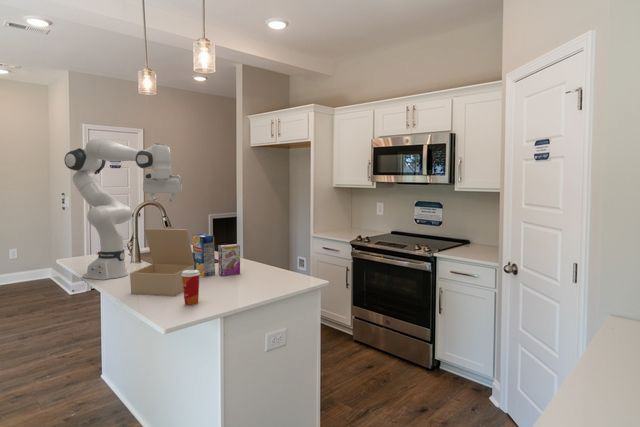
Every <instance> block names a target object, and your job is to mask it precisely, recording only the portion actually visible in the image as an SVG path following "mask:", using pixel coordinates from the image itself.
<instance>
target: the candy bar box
mask: <svg viewBox="0 0 640 427" xmlns="http://www.w3.org/2000/svg"><path fill="white" fill-rule="evenodd" d="M217 246H218V247H217V248H218V252H217V254H218V275H219V276H221V277H226V276H233V275H240V274H241V245H240V244H237V243H235V244H223V245H222V244H221V245H217Z"/></svg>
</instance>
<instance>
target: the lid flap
mask: <svg viewBox="0 0 640 427" xmlns="http://www.w3.org/2000/svg"><path fill="white" fill-rule="evenodd" d="M143 229H144V234H145V237H146V242H147V244H148V245H147V246H148V249H149V253H150V256H151V261H152V264H176V265H194V259H193V249H192V245H191V241H190V236H189V231H188V229H187V228H174V227H173V226H166V227H164V228H146V227H145V228H143Z"/></svg>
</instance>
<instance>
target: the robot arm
mask: <svg viewBox="0 0 640 427" xmlns="http://www.w3.org/2000/svg"><path fill="white" fill-rule="evenodd" d="M63 160H64V164H65V166H66V168H68V169H69V170H72V171H76V172H74V174H73V175H72V182H73V183H74V186H75V188H76V189H77V191H78V192H79V194H80V196H82V197H83V199H84V200H85V202H86V203H87V204H88V205H89V206H91V207H92V208H90V209H89V210H88V212H87V218H86V219H87V221H88V223H89V224H90V225H91V226H93V227H94V228H95V230H96V232H97V234H98V237H99V242H100V243H99V244H100V251H98V252H97V253H95V255H96V256H97V255H98V256H97V258H96V259H95V260H93V261H92V262H91V263H90V264H89V265H88V266H87V271H86V273H84V274H83V275H82V278H83V279H92V280H101V281H103V280H109V279H110V280H111V279H116V278H117V279H118V278H122V277H127V276H128V274H129V273H128V271H127V267H126V263H125V262H126V261H125V257H126V256H125V249H124V238H123V237H124V236H123V234H122V233H120V232H119V231H118V230H117V228H116V225H121V224H123V223H126V222H129V221H130V220H131V218H132V214H133V212H132V209H131V208H130V207H129V206H128V205H126V204H125V203H122V202H120V201H119V200H118V199H116V198H114V197H113V196H112V195H111V194H110V193H109V192H107V190H106V188H104V186H103V185H102V184H101V183H100V181H99V180H98V179H97V178H96V175H98V174H100V172H101V171H102V170H103V169H105V166H106V163H107V162H112V163H113V162H136V163H135V164H136V165H137V166H138V167H139V168H141V169H144V170H145V169H146V170H152V171H151V172H148V173H145V174H143V178H144V180H143V182H142V183H143V184H142V191H143V192H144V194H149V196H150V198H151V199H152V203H157V202H158V199H157V198H156V196H155V195H156V194H171V198H169V202H170V203H174V202H175V198H176V196H177V194H182V192H183V184H182V182H183V180H182V179H183V177H181V176H180V175H179V174H177V175H176V174H175V175H174V174H173V175H172V167H171V163H172V155H171V148H170V147H169V146H168V144H164V143H153V144H152V145H151V146H150V147H148V148H146V149H143V150H140V149H136V148H133V147H131V146H127V145H124V144H122V143H119V142H117V141H113V140H109V139H103V138H92V139H89V140H88V141H87V143H86V145H85V148H83V149H82V148H80V147H79V148H77V149H73V150H70V151H69V152H67V153H65V156H64V159H63Z"/></svg>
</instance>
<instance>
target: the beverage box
mask: <svg viewBox="0 0 640 427" xmlns="http://www.w3.org/2000/svg"><path fill="white" fill-rule="evenodd" d="M192 254H193V259H194V270H198V271H199V273H200V275H199V277H203V278H208V277H211V276H215V275H216V263H215V261H216V259H215V255H216V254H215V235H213V234H207V233H198V234H192Z"/></svg>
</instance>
